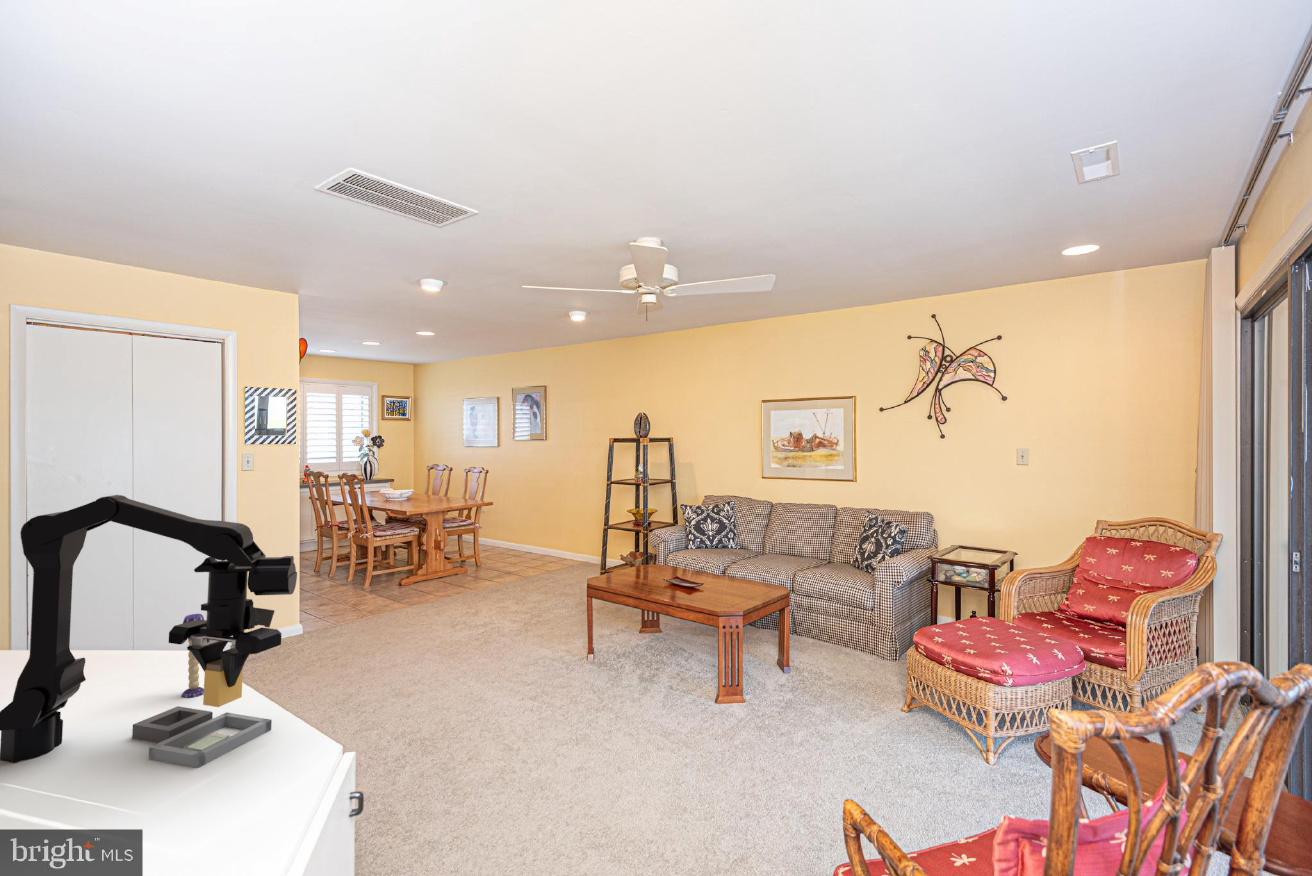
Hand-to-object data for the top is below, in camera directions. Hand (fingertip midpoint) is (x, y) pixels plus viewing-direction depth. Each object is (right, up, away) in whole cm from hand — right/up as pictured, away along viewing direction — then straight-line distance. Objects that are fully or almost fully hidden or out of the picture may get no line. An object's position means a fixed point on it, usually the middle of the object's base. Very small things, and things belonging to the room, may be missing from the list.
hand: (223, 685), depth 110 cm
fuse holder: (-10, -9, +1) cm, 13 cm away
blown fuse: (0, -3, 0) cm, 3 cm away
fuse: (+1, -9, -6) cm, 11 cm away
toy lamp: (-18, -9, +17) cm, 27 cm away
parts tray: (0, -10, -3) cm, 10 cm away
